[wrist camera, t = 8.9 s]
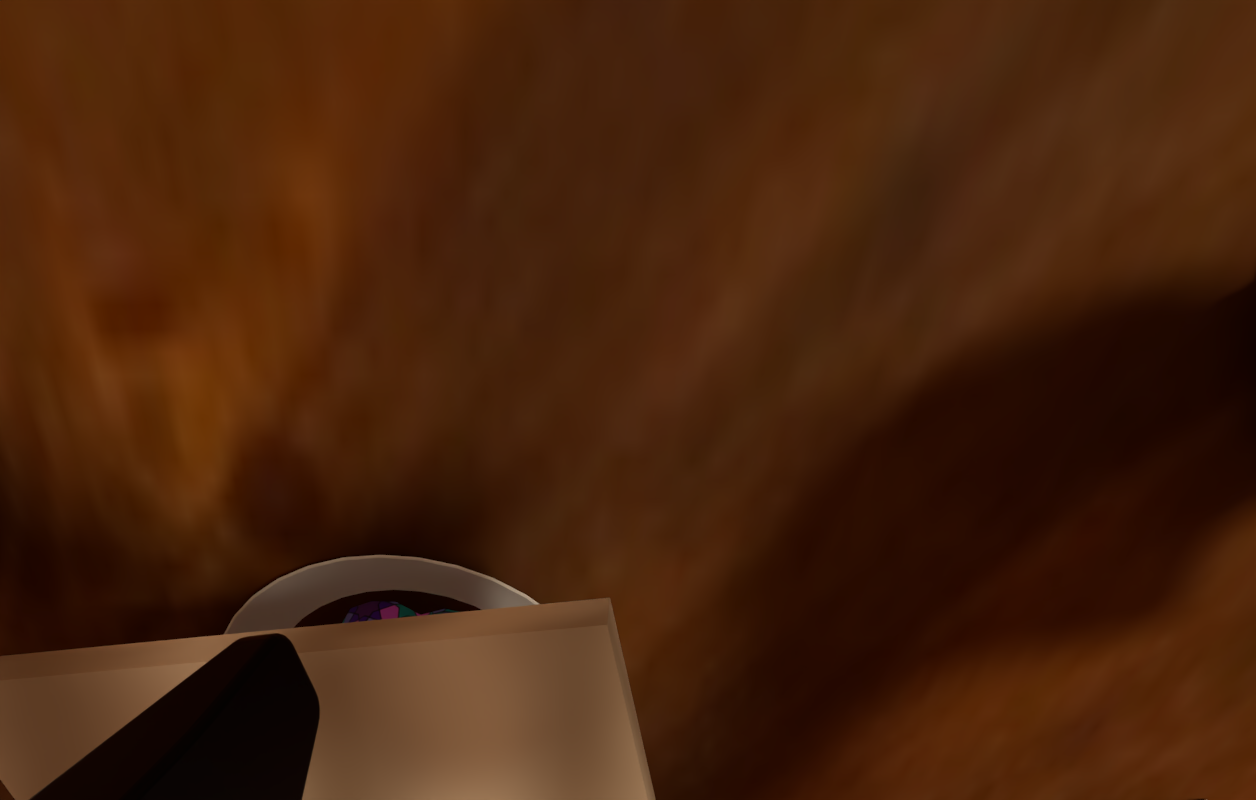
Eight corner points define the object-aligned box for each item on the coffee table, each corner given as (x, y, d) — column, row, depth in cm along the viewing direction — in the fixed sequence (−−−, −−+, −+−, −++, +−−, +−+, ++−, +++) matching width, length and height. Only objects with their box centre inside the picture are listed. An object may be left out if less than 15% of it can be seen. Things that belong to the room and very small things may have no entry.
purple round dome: (556, 857, 31) (535, 1023, 26) (210, 772, 29) (122, 929, 25) (669, 605, 25) (666, 758, 20) (246, 487, 24) (143, 621, 19)
